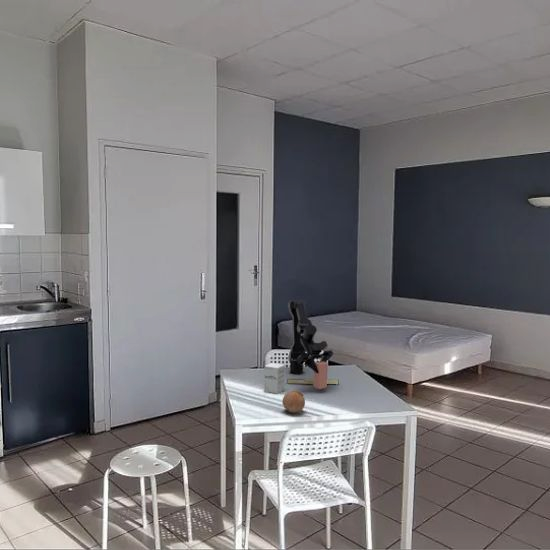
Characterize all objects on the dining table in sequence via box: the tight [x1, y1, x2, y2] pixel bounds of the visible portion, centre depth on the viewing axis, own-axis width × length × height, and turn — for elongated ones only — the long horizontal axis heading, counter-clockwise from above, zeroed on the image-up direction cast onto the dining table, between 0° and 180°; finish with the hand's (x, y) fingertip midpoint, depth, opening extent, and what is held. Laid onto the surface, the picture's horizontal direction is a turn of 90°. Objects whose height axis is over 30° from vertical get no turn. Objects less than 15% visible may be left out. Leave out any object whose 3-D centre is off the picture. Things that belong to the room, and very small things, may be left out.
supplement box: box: [263, 362, 286, 395], centre depth 245 cm, size 7×7×13 cm
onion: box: [282, 390, 306, 414], centre depth 217 cm, size 10×9×10 cm
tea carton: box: [313, 360, 329, 390], centre depth 246 cm, size 4×5×12 cm
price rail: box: [286, 378, 340, 386], centre depth 259 cm, size 3×26×2 cm, turn 90°
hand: (322, 372), depth 245 cm, fingers closed on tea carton, 5 cm apart
